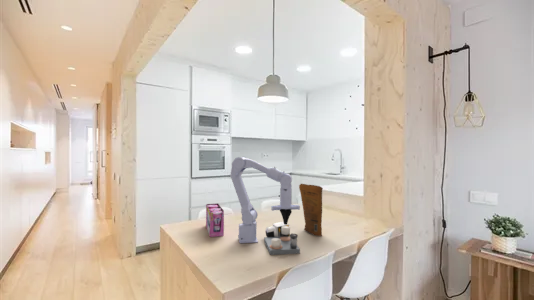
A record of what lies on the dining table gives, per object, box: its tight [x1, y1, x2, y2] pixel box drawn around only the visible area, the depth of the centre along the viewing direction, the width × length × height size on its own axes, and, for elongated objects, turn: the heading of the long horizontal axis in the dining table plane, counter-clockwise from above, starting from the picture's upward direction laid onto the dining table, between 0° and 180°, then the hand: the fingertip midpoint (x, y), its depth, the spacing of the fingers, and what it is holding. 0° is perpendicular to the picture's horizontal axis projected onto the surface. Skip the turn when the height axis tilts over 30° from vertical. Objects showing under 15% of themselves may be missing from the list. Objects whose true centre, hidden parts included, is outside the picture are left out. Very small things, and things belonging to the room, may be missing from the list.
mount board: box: [263, 236, 301, 256], centre depth 129 cm, size 14×18×2 cm
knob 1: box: [271, 238, 281, 248], centre depth 124 cm, size 4×4×3 cm
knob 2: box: [281, 226, 291, 235], centre depth 135 cm, size 4×4×3 cm
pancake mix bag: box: [298, 183, 323, 237], centre depth 152 cm, size 7×19×28 cm, turn 27°
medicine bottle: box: [265, 221, 291, 237], centre depth 142 cm, size 7×7×12 cm
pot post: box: [290, 233, 298, 249], centre depth 123 cm, size 4×4×6 cm
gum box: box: [205, 203, 225, 238], centre depth 153 cm, size 24×8×14 cm, turn 19°
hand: (285, 223), depth 134 cm, fingers closed
